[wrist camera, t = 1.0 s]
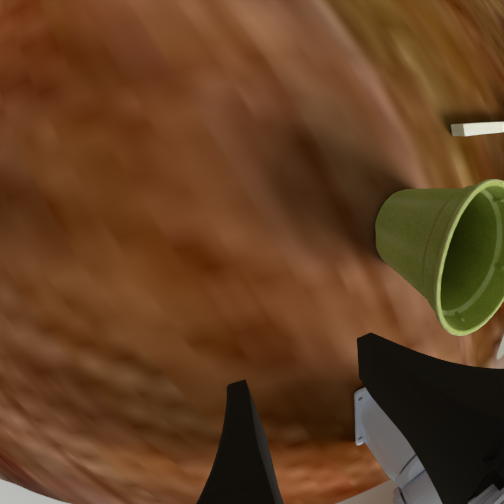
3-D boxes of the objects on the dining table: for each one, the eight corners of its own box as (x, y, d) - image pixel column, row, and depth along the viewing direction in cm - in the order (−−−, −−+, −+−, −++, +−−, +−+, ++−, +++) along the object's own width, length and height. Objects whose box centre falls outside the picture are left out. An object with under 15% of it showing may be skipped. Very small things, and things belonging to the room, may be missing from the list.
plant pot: (457, 212, 23) (534, 235, 15) (405, 303, 24) (474, 352, 16) (395, 141, 20) (488, 143, 12) (330, 250, 21) (408, 301, 13)
